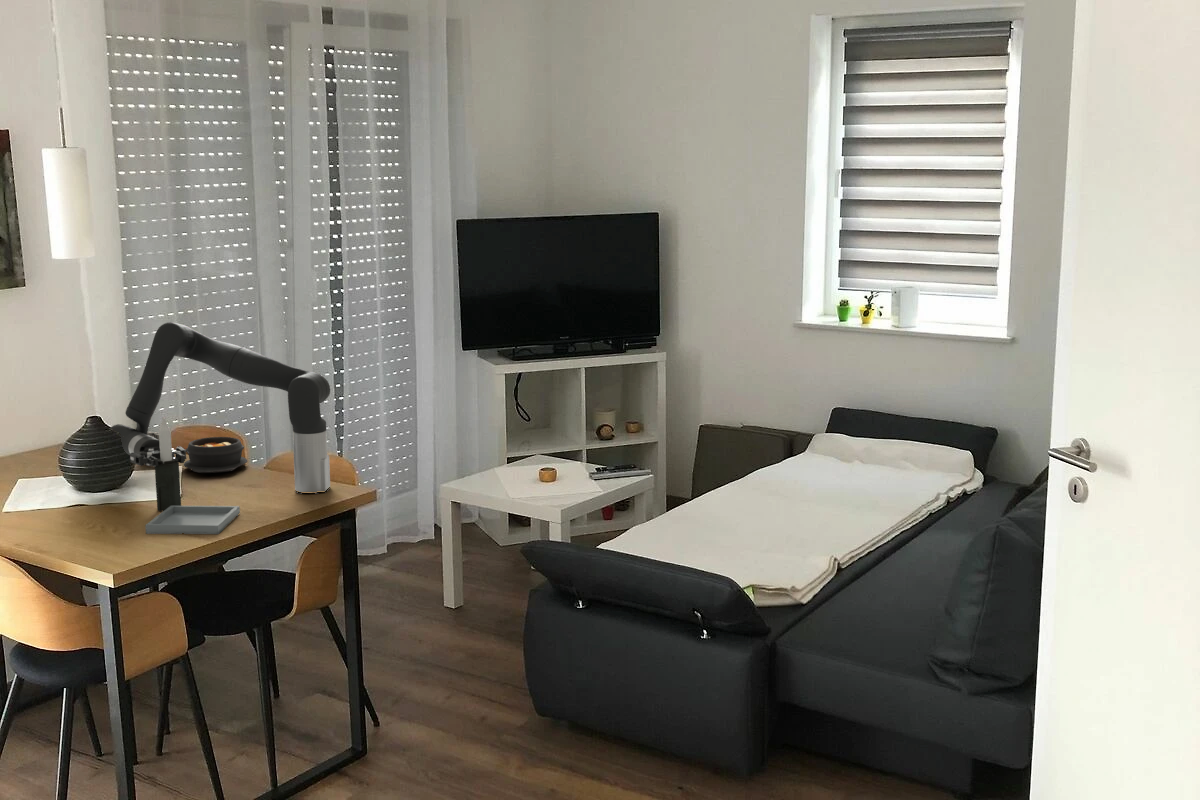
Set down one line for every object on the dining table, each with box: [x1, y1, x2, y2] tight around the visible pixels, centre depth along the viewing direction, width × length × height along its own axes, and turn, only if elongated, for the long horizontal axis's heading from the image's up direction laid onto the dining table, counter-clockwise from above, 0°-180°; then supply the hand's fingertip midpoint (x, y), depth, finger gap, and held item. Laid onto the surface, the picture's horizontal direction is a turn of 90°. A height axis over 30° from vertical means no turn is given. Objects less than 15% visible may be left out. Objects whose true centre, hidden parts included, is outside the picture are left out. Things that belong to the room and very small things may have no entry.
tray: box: [145, 505, 241, 535], centre depth 306 cm, size 18×18×2 cm
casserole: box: [183, 436, 249, 474], centre depth 363 cm, size 25×19×8 cm
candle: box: [154, 416, 182, 512], centre depth 316 cm, size 5×5×25 cm
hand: (169, 461), depth 315 cm, fingers closed on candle, 6 cm apart
